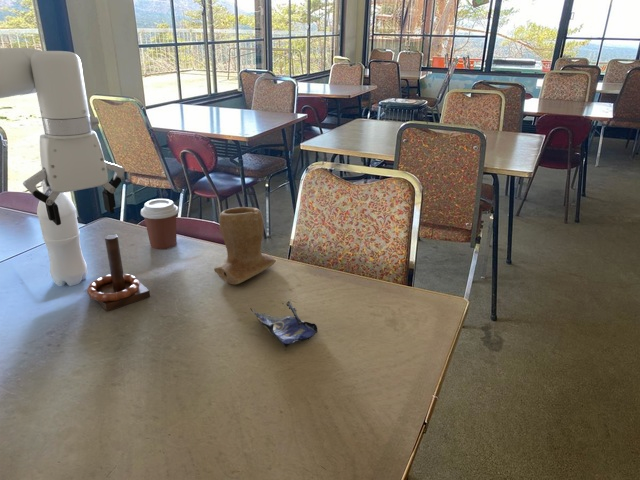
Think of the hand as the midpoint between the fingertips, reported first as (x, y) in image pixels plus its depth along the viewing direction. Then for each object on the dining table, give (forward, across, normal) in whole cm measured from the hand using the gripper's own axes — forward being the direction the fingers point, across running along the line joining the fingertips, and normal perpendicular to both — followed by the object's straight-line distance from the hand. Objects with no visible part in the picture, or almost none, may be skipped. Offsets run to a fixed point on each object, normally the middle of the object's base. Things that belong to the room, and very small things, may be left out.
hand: (84, 217), depth 91 cm
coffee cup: (+19, -22, -17) cm, 34 cm away
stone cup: (+19, -30, +7) cm, 36 cm away
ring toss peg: (+19, -4, 0) cm, 19 cm away
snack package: (+19, -22, +33) cm, 44 cm away
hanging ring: (+16, -3, 0) cm, 17 cm away
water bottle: (+19, +2, -12) cm, 23 cm away
